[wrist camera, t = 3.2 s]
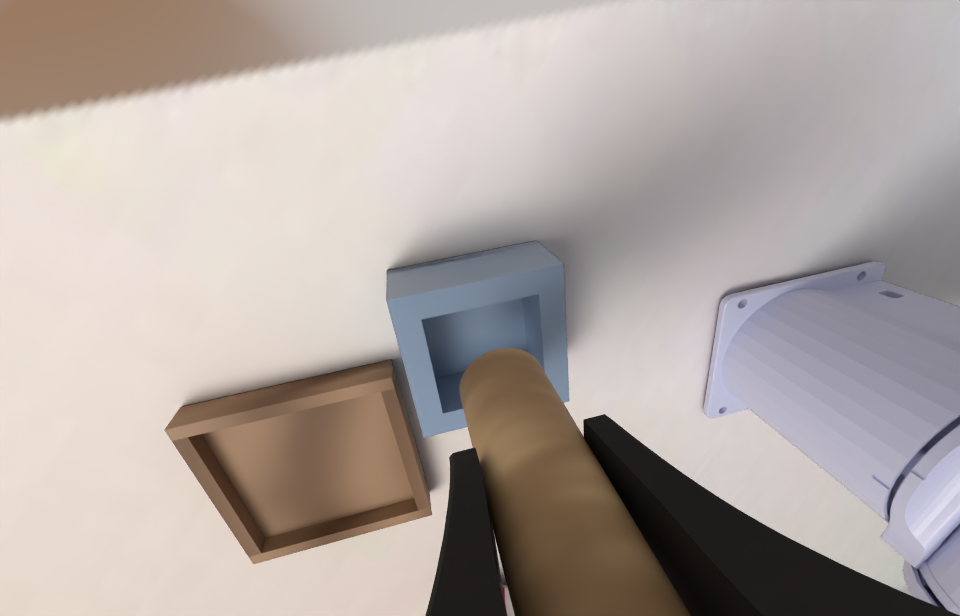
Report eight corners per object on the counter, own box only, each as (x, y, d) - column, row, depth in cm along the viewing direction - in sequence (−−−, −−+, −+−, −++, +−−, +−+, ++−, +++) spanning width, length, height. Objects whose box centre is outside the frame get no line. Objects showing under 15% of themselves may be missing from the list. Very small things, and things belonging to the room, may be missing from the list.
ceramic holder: (536, 240, 17) (563, 263, 14) (545, 363, 20) (569, 400, 17) (386, 270, 16) (386, 300, 14) (418, 393, 19) (423, 437, 17)
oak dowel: (540, 339, 13) (758, 665, 5) (545, 407, 15) (726, 748, 7) (452, 359, 13) (549, 737, 5) (466, 427, 14) (559, 810, 6)
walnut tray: (391, 359, 18) (391, 377, 17) (429, 492, 22) (431, 514, 21) (180, 407, 17) (164, 430, 16) (261, 537, 21) (253, 564, 20)
